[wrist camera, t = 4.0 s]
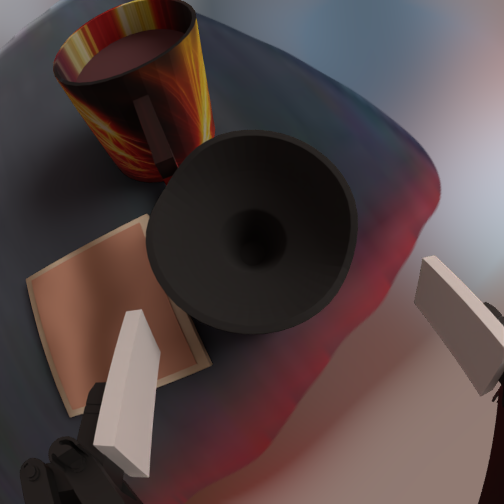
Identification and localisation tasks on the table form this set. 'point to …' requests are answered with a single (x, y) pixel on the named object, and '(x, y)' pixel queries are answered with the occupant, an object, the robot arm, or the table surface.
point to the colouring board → (107, 313)
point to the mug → (140, 85)
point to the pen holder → (253, 232)
